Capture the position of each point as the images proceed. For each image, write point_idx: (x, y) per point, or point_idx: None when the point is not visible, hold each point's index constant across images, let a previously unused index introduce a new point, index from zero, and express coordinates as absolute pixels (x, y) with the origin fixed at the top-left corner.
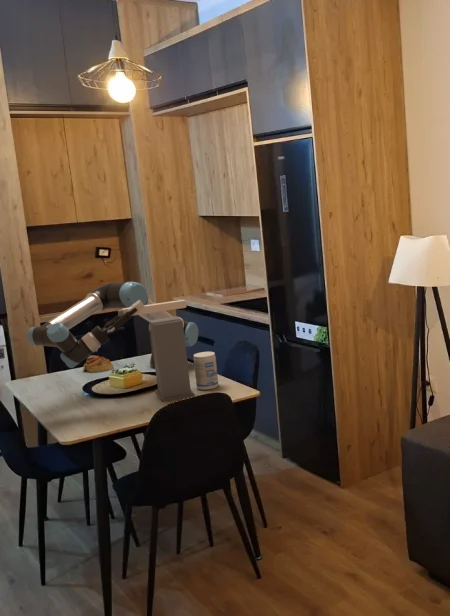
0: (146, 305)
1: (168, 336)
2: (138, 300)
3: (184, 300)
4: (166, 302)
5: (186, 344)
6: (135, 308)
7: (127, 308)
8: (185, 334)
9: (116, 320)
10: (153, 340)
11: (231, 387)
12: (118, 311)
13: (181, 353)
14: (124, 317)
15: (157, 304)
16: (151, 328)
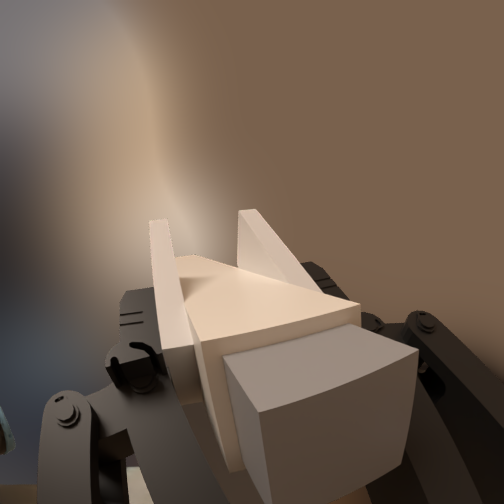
0: (196, 271)
1: None
2: (153, 226)
3: (191, 255)
4: (179, 262)
5: (11, 449)
6: (314, 269)
7: (265, 298)
8: (4, 425)
9: (473, 496)
10: (235, 477)
11: None
12: (409, 371)
13: None
14: (460, 360)
15: (213, 261)
16: (200, 434)
